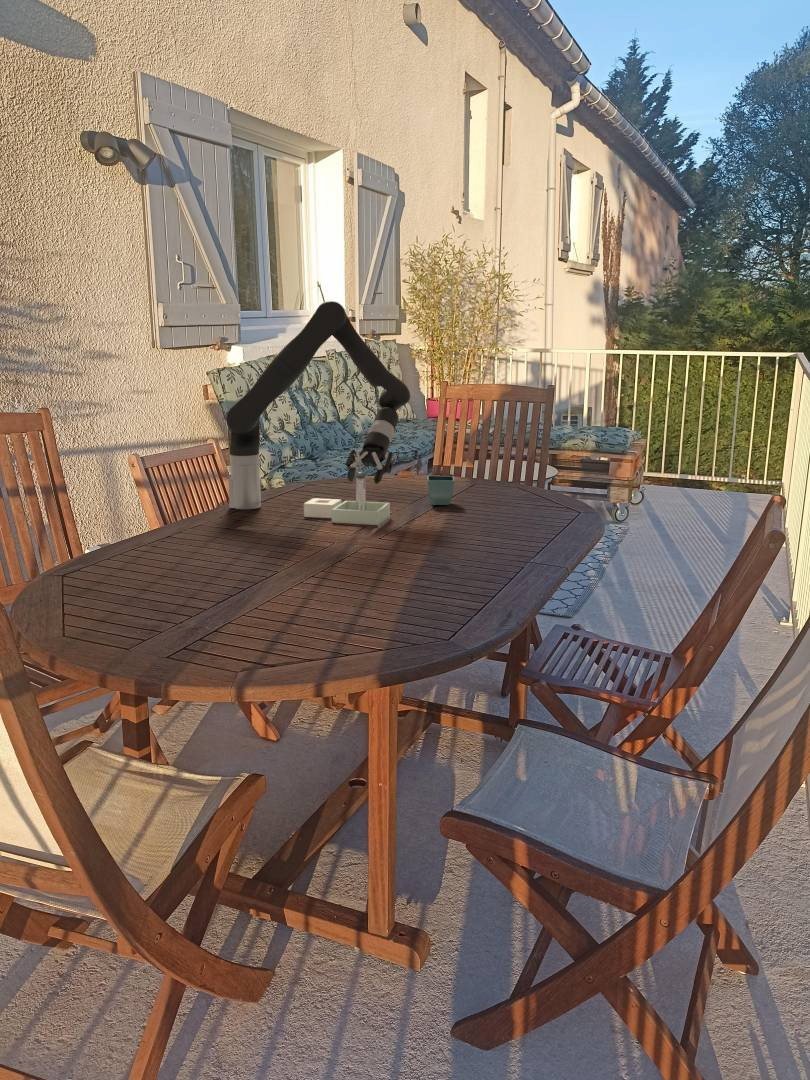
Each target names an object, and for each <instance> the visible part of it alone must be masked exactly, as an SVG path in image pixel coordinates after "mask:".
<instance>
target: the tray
mask: <svg viewBox="0 0 810 1080" xmlns="http://www.w3.org/2000/svg"><path fill="white" fill-rule="evenodd" d="M390 506H391V503H390V502H376V501H366V511H362V510H356V500H344V501H343V502H341V504H340V505H338V506H336V507H335V508H333V509H332V518H331V523H336V524H353V525H370V526H371V525H373V526H375V527H374V529H379V528H380V527H381V526H382V525H384V524H385V523H386V522H387V521H388V520H390V519H389V518H391V516H390V515H391V511H390V509H391V508H390ZM385 521H386V522H385ZM384 522H385V523H384ZM383 523H384V524H383ZM379 526H380V527H379ZM378 527H379V528H378Z"/></svg>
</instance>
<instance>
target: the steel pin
mask: <svg viewBox="0 0 810 1080" xmlns="http://www.w3.org/2000/svg"><path fill="white" fill-rule="evenodd" d="M354 477H355V498H356V499H355V501H356V510H362V511H366V502H367V501H366V498H367V497H366V493H367V492H366V477H367V472H366V471H356V472H355V476H354Z"/></svg>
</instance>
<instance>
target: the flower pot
mask: <svg viewBox="0 0 810 1080" xmlns="http://www.w3.org/2000/svg"><path fill="white" fill-rule="evenodd" d="M426 481H427V491H428V497H429V501H430V503H431V505H432V504H435V505H448V506H449V505H450V504H451V501H452V498H453V495H454V489H455V482H456V481H455V477H454V476H453V475H427V480H426Z"/></svg>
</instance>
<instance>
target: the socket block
mask: <svg viewBox="0 0 810 1080" xmlns="http://www.w3.org/2000/svg"><path fill="white" fill-rule="evenodd" d="M341 503H342V499H337V498H334V499H333V498H318V497H312V498H311V499H309V500H308V501H306V502H304V503H303V515H304V516H303V517H304V518H321V519H332V509H333V508H335V507H336V506H338V505H340V504H341Z"/></svg>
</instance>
